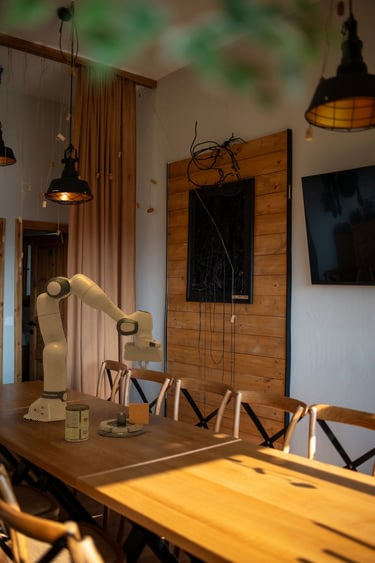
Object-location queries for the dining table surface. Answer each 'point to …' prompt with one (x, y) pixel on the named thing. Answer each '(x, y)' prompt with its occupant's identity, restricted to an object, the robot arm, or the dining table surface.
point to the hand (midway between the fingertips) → (143, 370)
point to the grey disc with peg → (121, 423)
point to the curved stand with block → (136, 419)
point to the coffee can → (77, 422)
